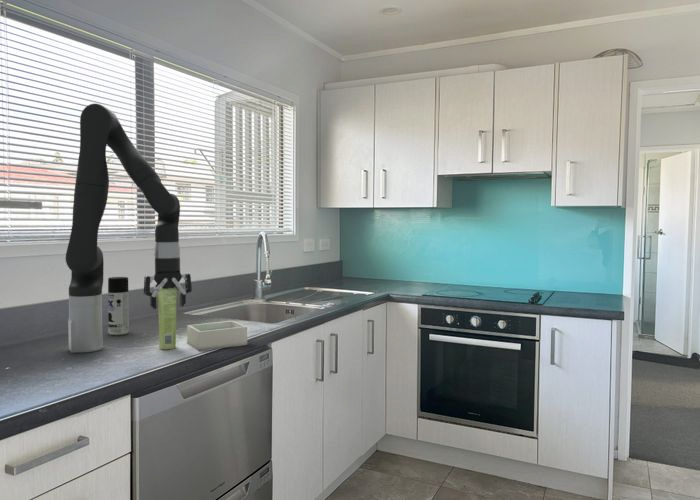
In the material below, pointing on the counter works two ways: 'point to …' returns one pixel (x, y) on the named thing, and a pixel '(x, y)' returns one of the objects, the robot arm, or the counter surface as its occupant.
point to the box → (216, 335)
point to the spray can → (118, 306)
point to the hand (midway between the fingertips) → (168, 307)
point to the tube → (167, 317)
